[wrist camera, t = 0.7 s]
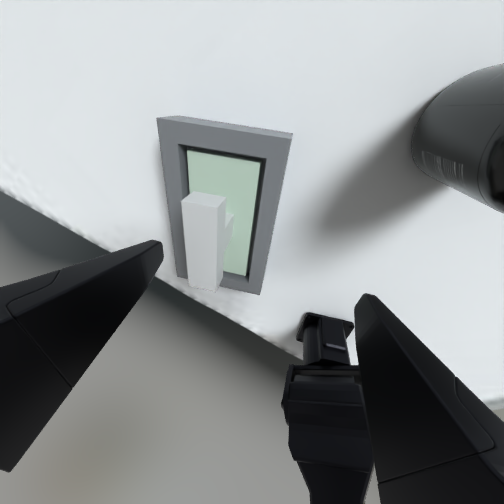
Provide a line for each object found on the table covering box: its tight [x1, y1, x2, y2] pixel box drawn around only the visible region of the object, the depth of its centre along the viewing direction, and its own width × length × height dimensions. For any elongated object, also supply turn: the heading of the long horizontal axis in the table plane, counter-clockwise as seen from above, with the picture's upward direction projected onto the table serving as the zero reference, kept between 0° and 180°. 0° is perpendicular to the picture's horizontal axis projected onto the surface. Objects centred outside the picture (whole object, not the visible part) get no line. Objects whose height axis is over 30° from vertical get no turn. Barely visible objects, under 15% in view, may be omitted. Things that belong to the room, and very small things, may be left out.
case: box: [157, 116, 293, 295], centre depth 21 cm, size 16×10×4 cm, turn 173°
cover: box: [181, 148, 262, 292], centre depth 18 cm, size 12×6×6 cm, turn 173°
